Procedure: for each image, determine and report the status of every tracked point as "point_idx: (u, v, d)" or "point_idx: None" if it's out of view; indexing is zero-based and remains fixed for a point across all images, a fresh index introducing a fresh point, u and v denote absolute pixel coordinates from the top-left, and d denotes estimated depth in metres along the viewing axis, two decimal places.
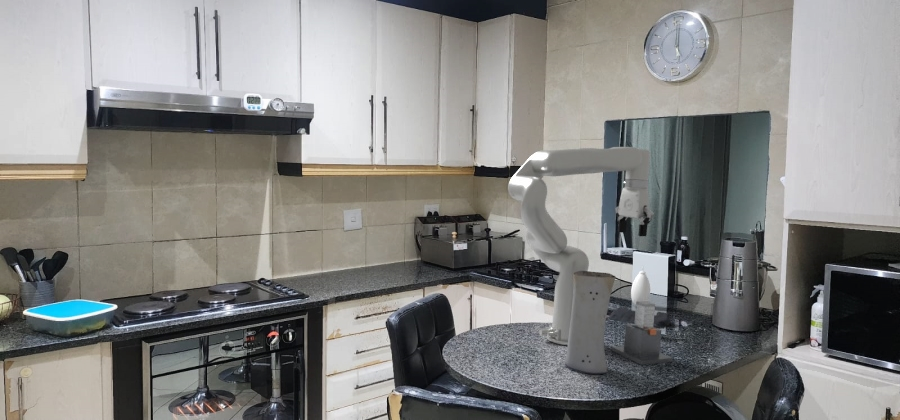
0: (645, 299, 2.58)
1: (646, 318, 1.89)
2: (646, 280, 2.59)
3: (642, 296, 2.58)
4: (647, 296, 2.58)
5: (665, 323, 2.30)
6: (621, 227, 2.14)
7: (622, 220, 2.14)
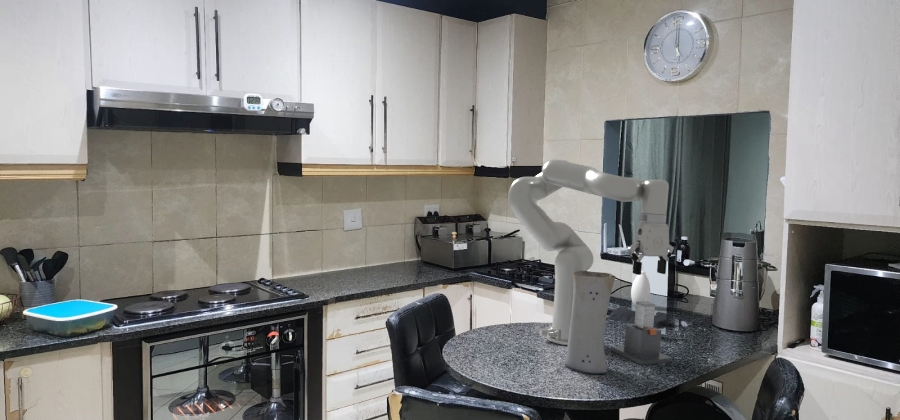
0: (645, 299, 2.58)
1: (646, 318, 1.89)
2: (646, 280, 2.59)
3: (642, 296, 2.58)
4: (647, 296, 2.58)
5: (664, 323, 2.30)
6: None
7: None
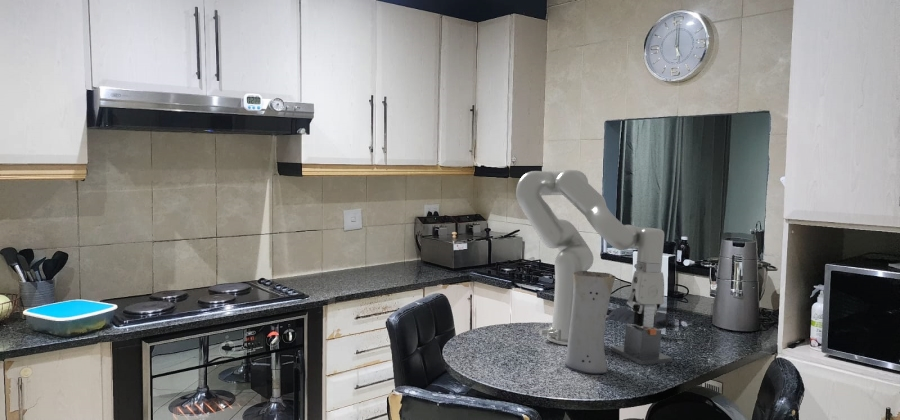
0: None
1: (646, 318, 1.89)
2: None
3: None
4: None
5: (663, 323, 2.30)
6: None
7: None
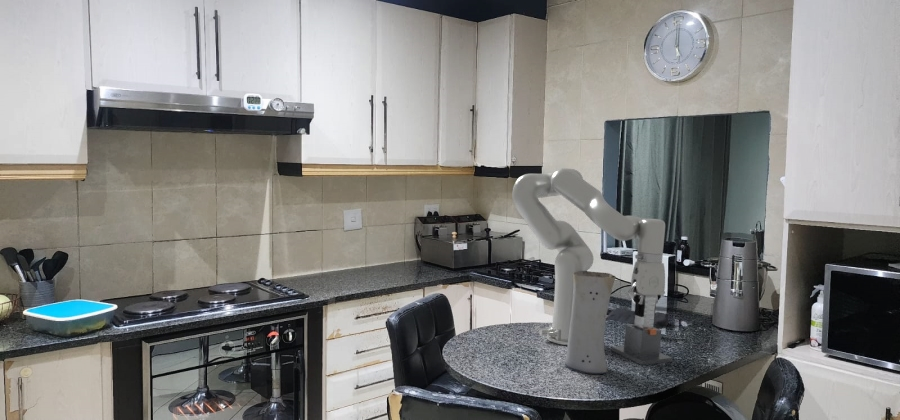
0: None
1: (647, 309, 1.89)
2: None
3: None
4: None
5: (663, 323, 2.30)
6: None
7: None
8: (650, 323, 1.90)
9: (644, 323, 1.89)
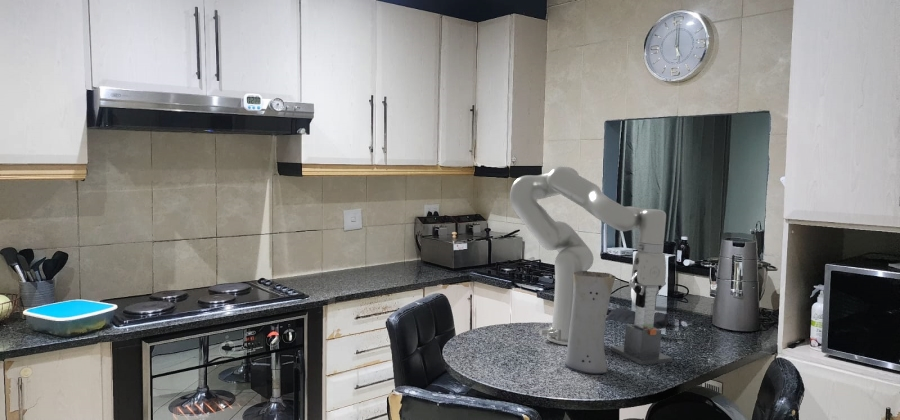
0: None
1: (648, 299, 1.88)
2: None
3: None
4: None
5: (662, 323, 2.29)
6: None
7: None
8: (651, 314, 1.89)
9: (645, 314, 1.89)
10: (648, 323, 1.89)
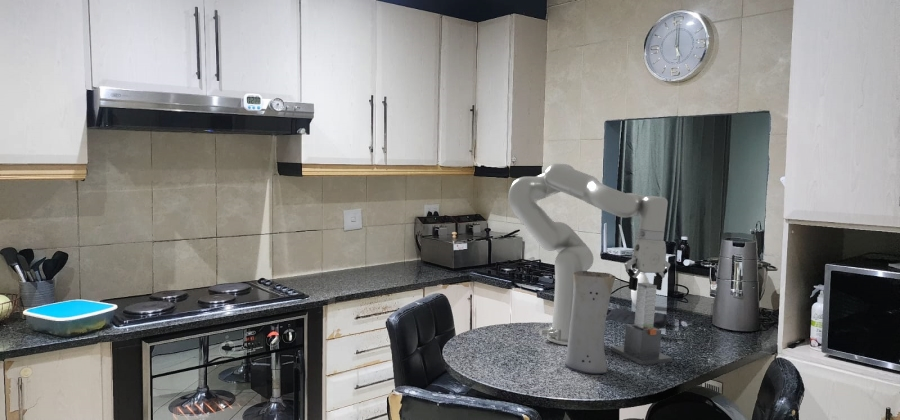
0: None
1: (648, 299, 1.88)
2: (646, 280, 2.59)
3: None
4: None
5: (661, 324, 2.29)
6: None
7: None
8: (651, 314, 1.89)
9: (645, 314, 1.89)
10: (648, 323, 1.89)
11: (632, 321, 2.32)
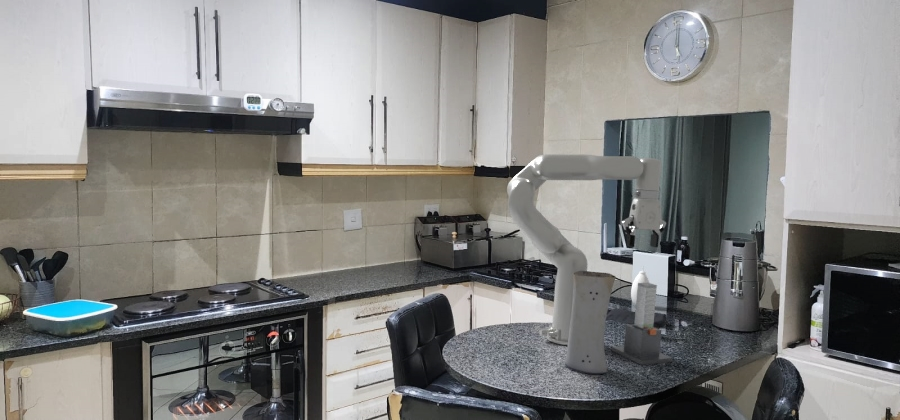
0: None
1: (648, 299, 1.88)
2: (646, 280, 2.59)
3: None
4: None
5: (660, 324, 2.29)
6: None
7: None
8: (651, 314, 1.89)
9: (645, 314, 1.89)
10: (648, 323, 1.89)
11: (631, 321, 2.31)
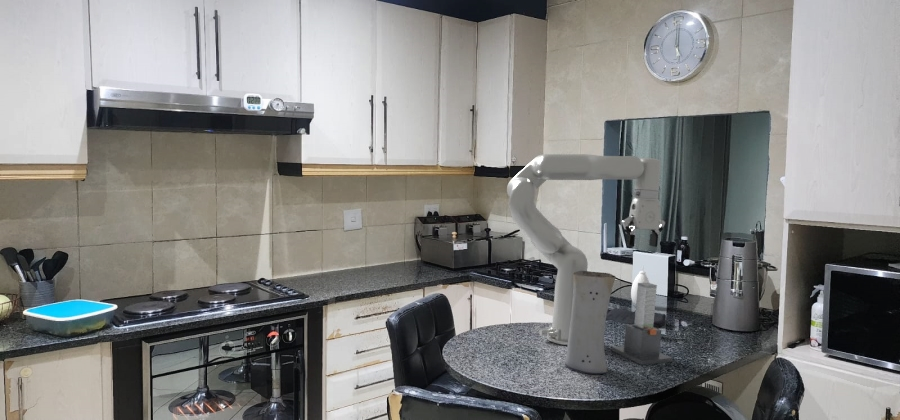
0: None
1: (648, 299, 1.88)
2: (646, 280, 2.59)
3: None
4: None
5: (660, 324, 2.29)
6: None
7: None
8: (651, 314, 1.89)
9: (645, 314, 1.89)
10: (648, 323, 1.89)
11: (631, 321, 2.31)
